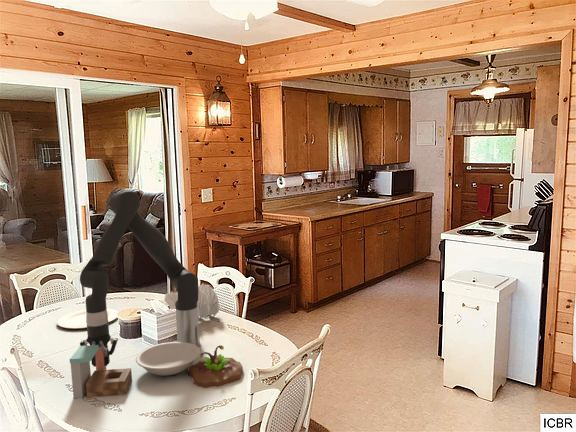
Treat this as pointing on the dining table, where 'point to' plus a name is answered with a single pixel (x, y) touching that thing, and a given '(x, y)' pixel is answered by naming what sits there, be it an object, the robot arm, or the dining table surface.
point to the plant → (215, 370)
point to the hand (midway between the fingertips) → (100, 365)
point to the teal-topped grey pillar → (81, 368)
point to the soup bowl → (168, 357)
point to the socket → (109, 382)
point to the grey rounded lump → (199, 301)
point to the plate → (81, 319)
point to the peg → (100, 360)
